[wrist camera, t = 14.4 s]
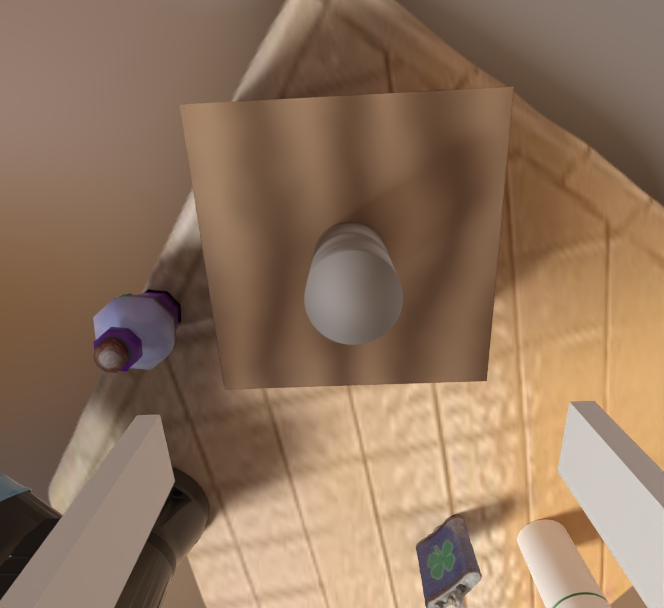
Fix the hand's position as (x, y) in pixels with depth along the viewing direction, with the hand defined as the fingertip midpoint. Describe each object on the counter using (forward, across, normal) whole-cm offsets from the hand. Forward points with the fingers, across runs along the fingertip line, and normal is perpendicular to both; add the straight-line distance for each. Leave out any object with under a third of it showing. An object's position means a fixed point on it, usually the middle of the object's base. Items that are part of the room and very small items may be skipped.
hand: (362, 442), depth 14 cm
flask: (+36, -12, +46) cm, 60 cm away
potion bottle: (+36, +23, +9) cm, 44 cm away
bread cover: (+36, 0, 0) cm, 36 cm away
